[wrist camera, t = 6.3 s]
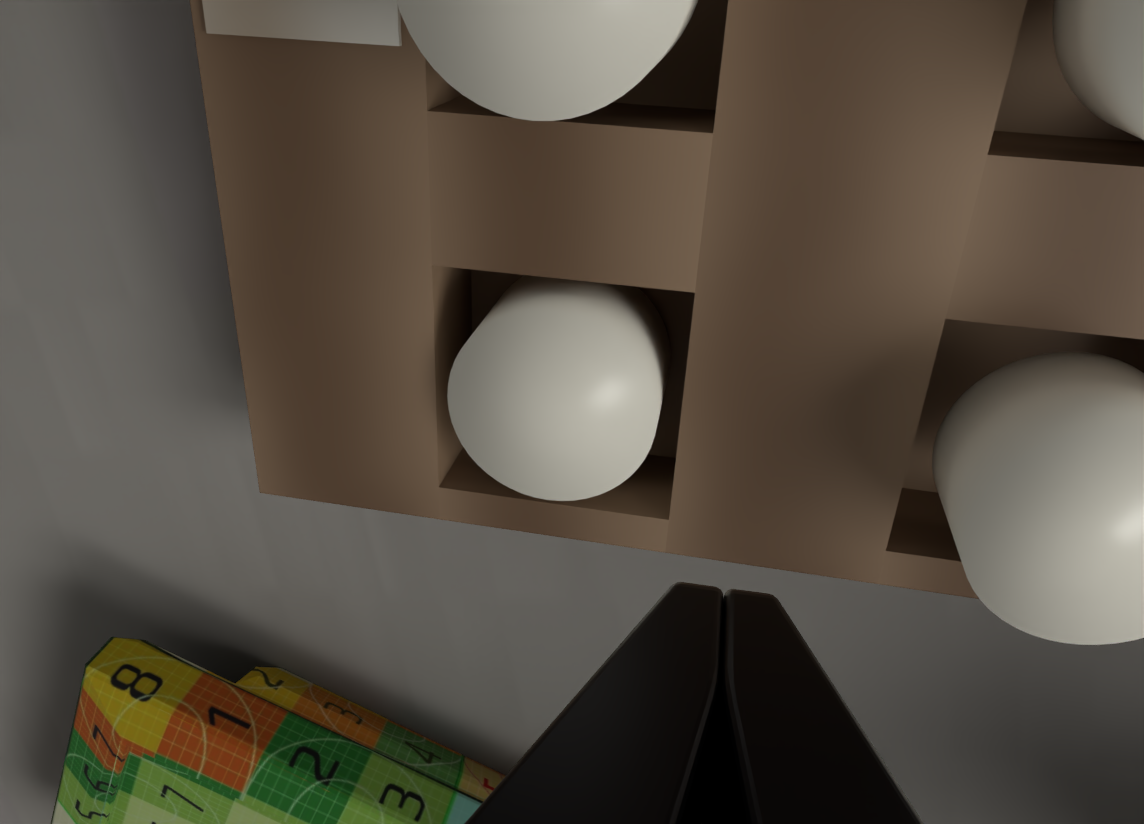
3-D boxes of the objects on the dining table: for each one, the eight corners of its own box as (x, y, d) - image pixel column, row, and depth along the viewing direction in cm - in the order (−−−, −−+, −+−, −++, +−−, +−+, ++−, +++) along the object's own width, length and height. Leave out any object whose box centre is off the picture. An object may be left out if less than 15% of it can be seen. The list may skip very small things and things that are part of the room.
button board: (1818, -445, 11) (2171, -580, 8) (1292, 560, 19) (1387, 667, 16) (233, -423, 14) (105, -517, 12) (319, 428, 22) (254, 498, 19)
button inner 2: (679, 273, 18) (667, 321, 15) (661, 446, 19) (647, 514, 17) (485, 253, 18) (444, 297, 16) (486, 424, 20) (449, 485, 18)
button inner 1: (1215, 366, 15) (1304, 445, 12) (1133, 562, 16) (1196, 663, 14) (961, 339, 15) (999, 409, 13) (910, 531, 17) (934, 623, 15)
